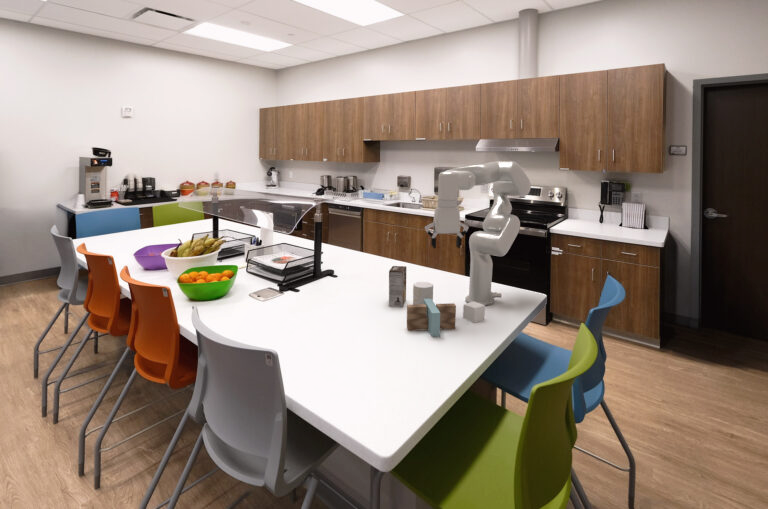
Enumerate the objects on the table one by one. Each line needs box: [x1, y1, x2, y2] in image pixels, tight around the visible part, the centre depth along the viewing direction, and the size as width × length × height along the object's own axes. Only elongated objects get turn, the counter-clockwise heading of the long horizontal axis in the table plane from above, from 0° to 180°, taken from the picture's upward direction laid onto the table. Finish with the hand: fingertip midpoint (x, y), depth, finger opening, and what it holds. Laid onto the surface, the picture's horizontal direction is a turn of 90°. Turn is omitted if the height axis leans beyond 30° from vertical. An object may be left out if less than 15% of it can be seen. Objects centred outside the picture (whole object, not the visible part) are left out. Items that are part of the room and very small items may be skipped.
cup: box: [412, 281, 434, 305], centre depth 183 cm, size 8×8×12 cm
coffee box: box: [388, 265, 407, 308], centre depth 193 cm, size 9×6×16 cm
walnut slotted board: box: [406, 302, 457, 331], centre depth 167 cm, size 18×3×9 cm, turn 95°
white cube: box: [462, 302, 486, 324], centre depth 177 cm, size 6×6×6 cm
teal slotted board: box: [424, 299, 441, 338], centre depth 166 cm, size 3×16×9 cm, turn 6°
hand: (446, 247), depth 175 cm, fingers open, 9 cm apart
